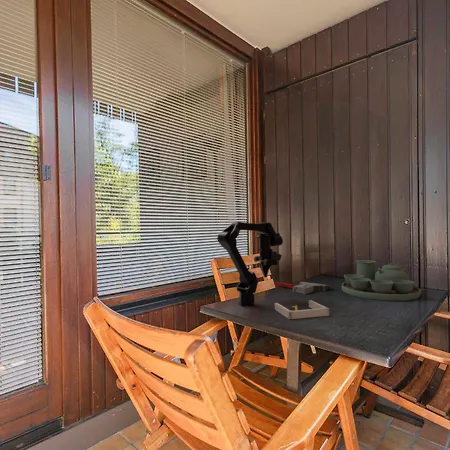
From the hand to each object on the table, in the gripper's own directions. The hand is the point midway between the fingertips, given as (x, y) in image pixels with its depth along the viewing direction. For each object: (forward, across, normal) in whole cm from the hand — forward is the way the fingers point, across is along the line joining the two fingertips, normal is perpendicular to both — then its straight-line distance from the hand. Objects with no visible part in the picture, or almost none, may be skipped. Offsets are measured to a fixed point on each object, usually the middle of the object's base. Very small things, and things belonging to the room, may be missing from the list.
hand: (265, 277), depth 158 cm
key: (+13, -24, -5) cm, 28 cm away
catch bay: (+12, -24, -7) cm, 28 cm away
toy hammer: (+13, +22, -30) cm, 39 cm away
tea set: (+13, -1, -68) cm, 69 cm away
